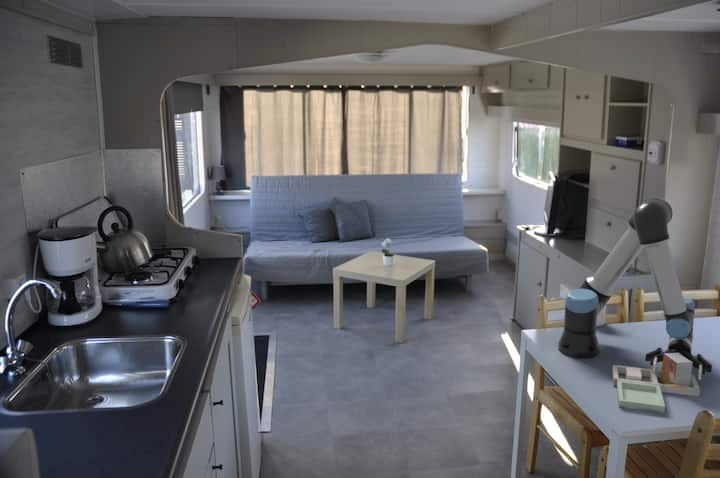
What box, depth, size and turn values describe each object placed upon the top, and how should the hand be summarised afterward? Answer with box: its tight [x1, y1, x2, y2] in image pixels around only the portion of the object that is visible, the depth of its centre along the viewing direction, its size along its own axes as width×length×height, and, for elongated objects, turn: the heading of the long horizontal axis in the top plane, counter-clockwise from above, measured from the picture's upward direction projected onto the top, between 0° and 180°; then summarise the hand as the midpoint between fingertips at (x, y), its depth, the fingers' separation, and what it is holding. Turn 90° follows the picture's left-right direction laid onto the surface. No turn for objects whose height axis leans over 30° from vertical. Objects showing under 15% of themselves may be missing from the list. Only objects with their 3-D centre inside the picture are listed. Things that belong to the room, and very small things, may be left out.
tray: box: [616, 380, 666, 415], centre depth 196 cm, size 13×15×2 cm
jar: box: [596, 304, 607, 327], centre depth 262 cm, size 9×8×12 cm
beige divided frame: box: [611, 364, 701, 398], centre depth 207 cm, size 26×12×3 cm, turn 70°
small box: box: [660, 353, 693, 387], centre depth 204 cm, size 8×6×10 cm
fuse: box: [624, 366, 643, 381], centre depth 209 cm, size 5×7×4 cm, turn 160°
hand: (676, 371), depth 201 cm, fingers open, 13 cm apart
